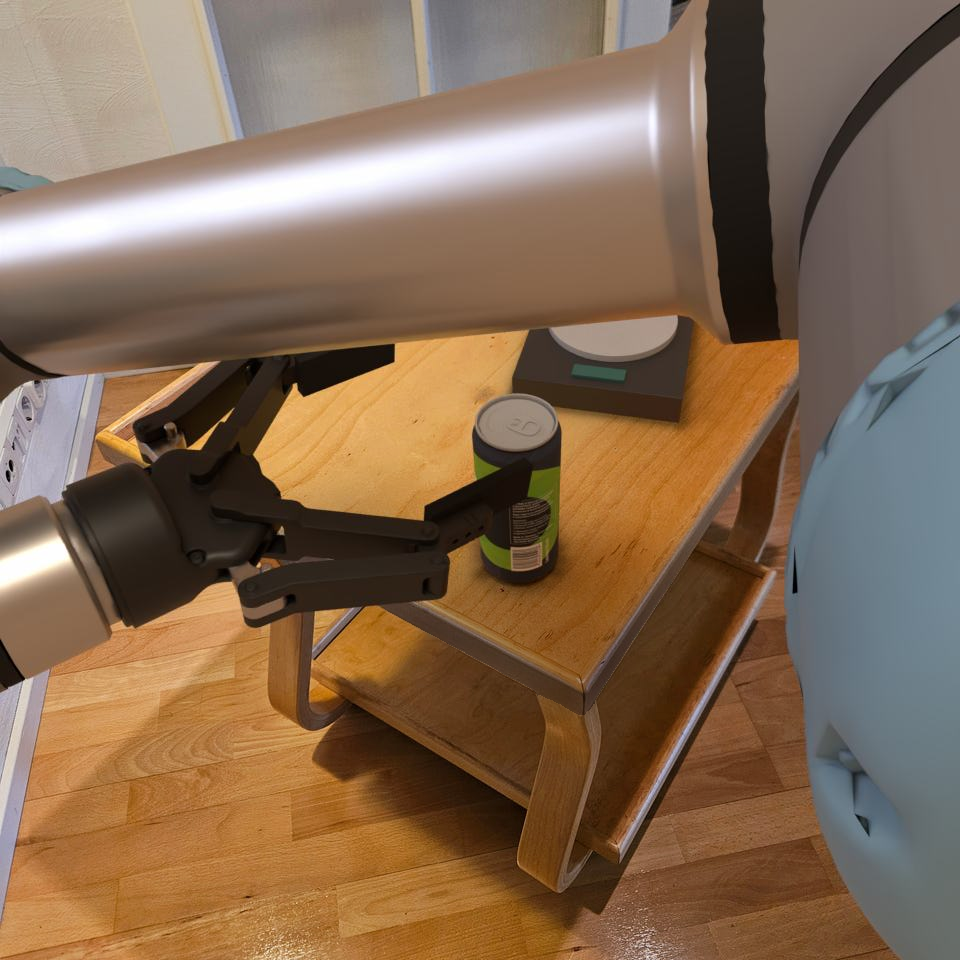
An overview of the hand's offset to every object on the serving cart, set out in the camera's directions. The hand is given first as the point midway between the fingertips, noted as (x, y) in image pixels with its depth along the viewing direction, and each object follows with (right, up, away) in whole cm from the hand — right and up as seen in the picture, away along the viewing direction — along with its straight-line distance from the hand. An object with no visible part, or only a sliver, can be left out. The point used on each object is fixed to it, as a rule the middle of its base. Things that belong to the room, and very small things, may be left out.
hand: (454, 405), depth 49 cm
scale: (+15, +8, +37) cm, 40 cm away
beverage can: (+5, -11, +19) cm, 22 cm away
